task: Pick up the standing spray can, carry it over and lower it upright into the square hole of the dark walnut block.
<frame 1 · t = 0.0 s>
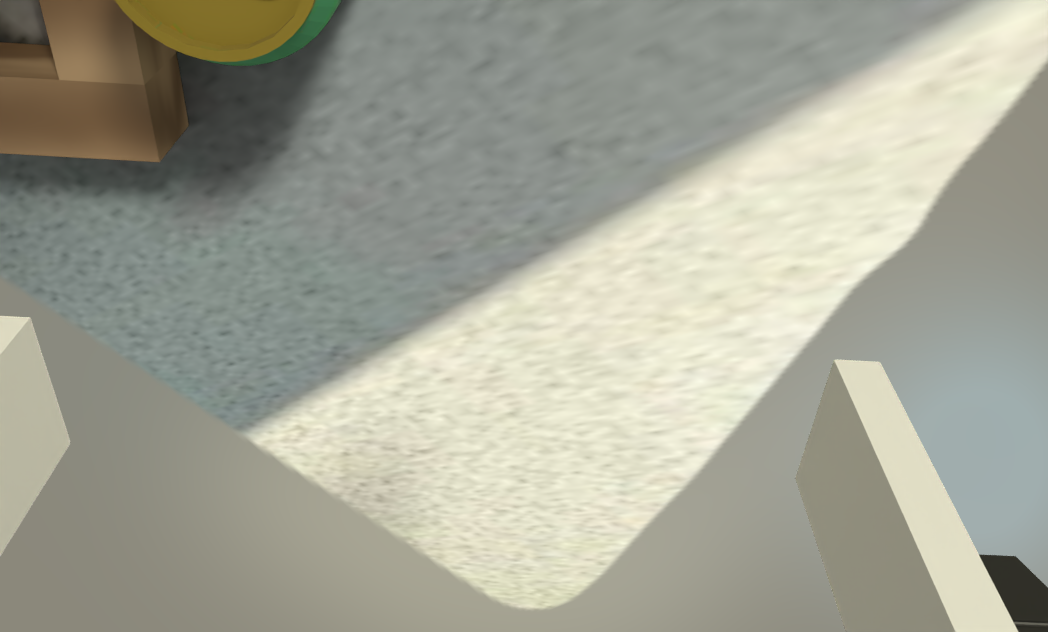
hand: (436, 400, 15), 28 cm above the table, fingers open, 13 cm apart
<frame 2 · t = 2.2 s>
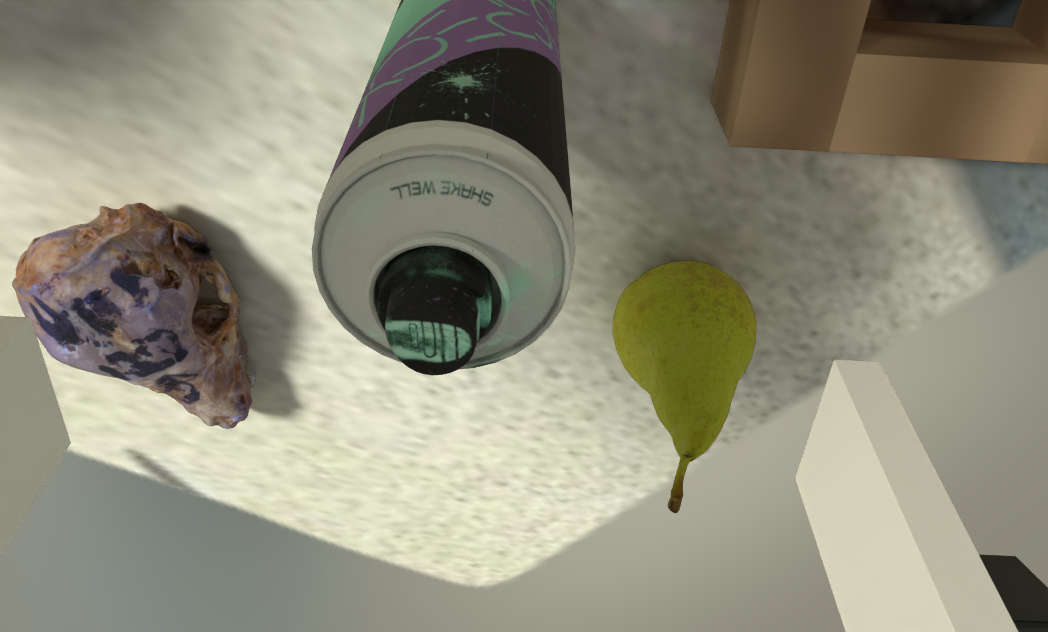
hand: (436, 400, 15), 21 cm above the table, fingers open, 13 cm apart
spray can: (480, 8, 33), on the table
fruit: (671, 283, 39), on the table
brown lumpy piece: (169, 296, 40), on the table
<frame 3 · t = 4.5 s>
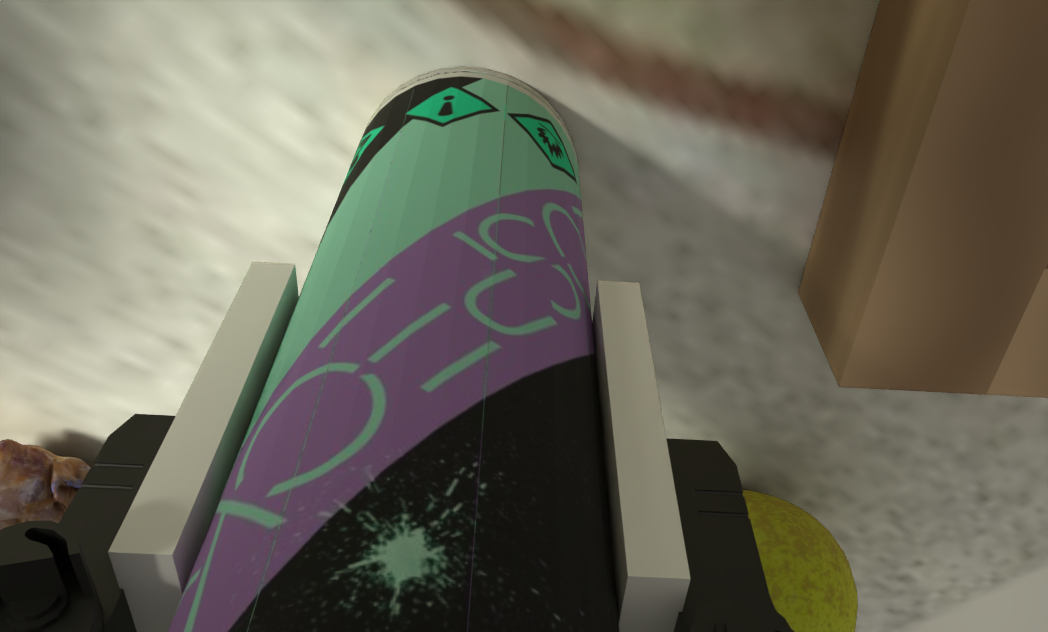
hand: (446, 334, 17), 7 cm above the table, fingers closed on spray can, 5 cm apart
spray can: (469, 169, 22), on the table, touching gripper
fruit: (729, 504, 29), on the table
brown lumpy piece: (66, 528, 30), on the table
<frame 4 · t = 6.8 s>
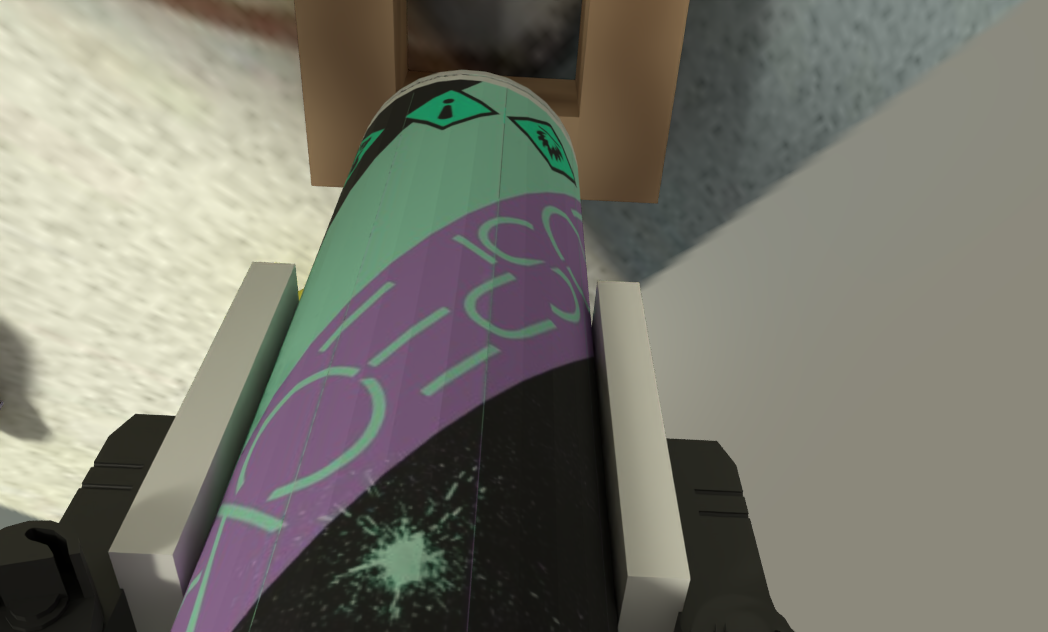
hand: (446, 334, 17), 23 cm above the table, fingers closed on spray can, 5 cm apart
spray can: (469, 171, 22), point 16 cm above the table, touching gripper
when the fingers open (8 cm above the table, at t = 9.5 s): spray can drops 1 cm, resting in hole block.
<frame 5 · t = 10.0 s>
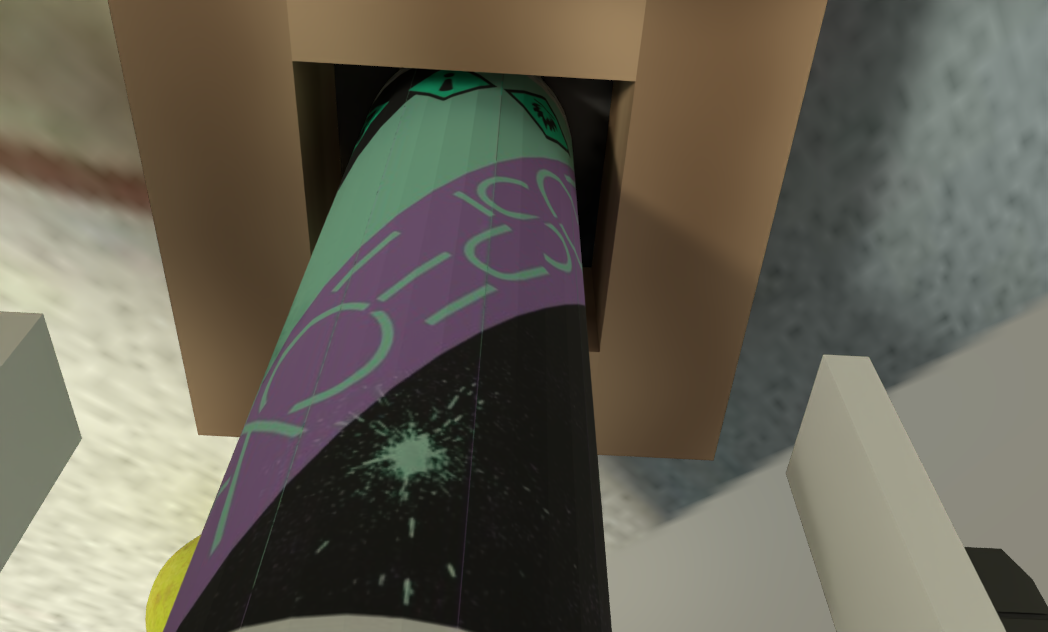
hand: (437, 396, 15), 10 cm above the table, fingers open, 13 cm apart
spray can: (469, 145, 24), resting in hole block
fruit: (265, 528, 32), on the table
hole block: (472, 147, 23), on the table
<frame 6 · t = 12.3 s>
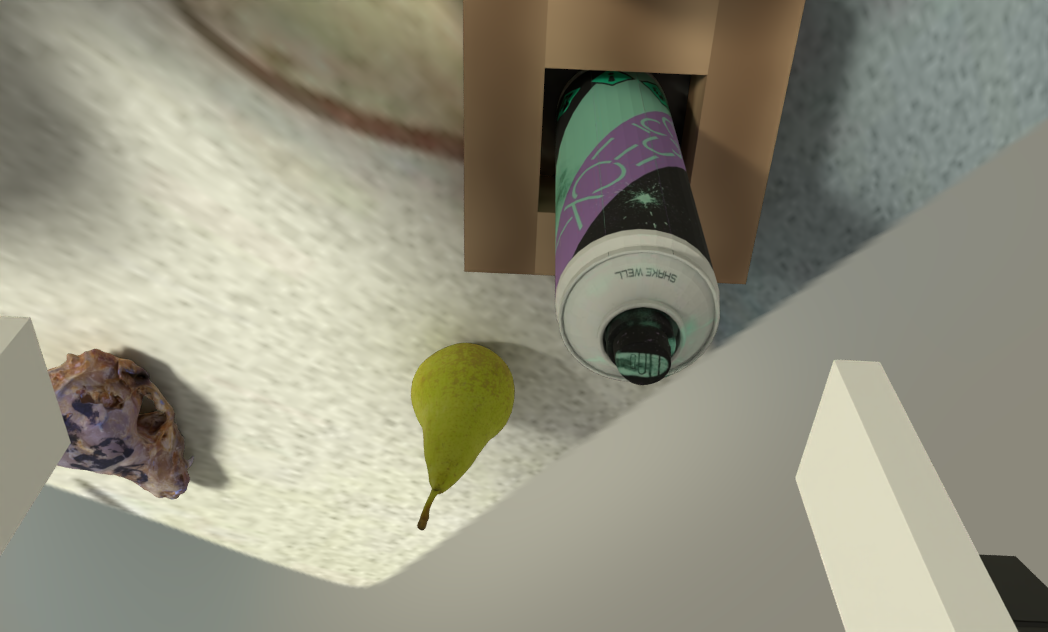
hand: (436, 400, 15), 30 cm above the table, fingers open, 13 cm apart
spray can: (611, 112, 44), resting in hole block
fruit: (467, 356, 53), on the table
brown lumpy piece: (126, 405, 56), on the table
hole block: (613, 113, 43), on the table
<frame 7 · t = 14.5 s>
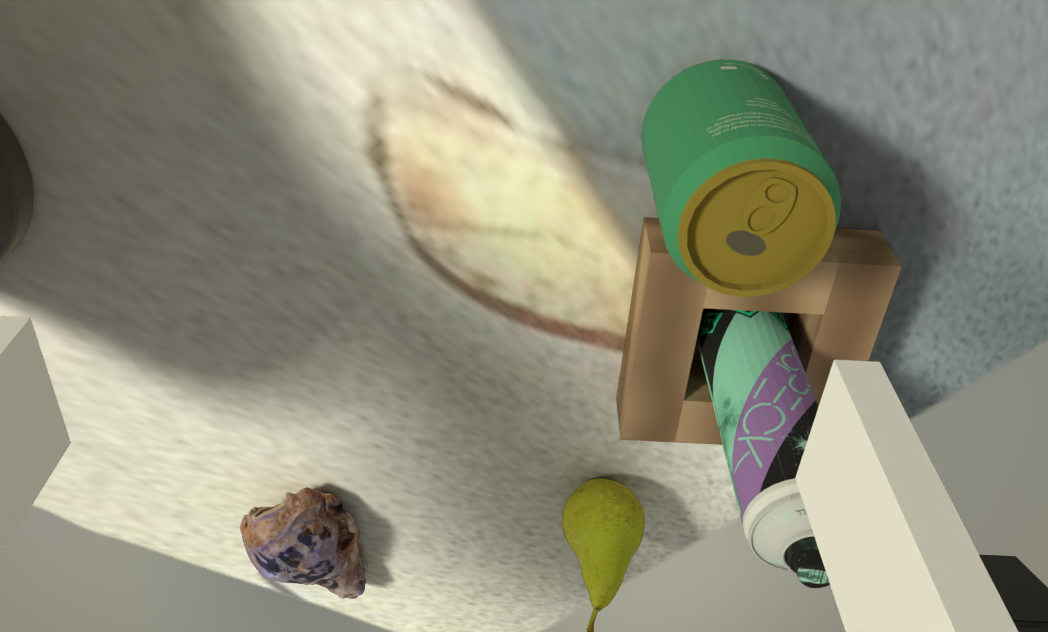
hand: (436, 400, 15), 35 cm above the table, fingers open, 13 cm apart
spray can: (736, 319, 57), resting in hole block
fruit: (599, 485, 65), on the table
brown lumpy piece: (316, 524, 68), on the table
beverage can: (712, 122, 49), on the table
hole block: (738, 320, 56), on the table
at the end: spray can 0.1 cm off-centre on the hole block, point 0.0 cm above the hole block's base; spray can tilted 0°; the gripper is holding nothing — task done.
